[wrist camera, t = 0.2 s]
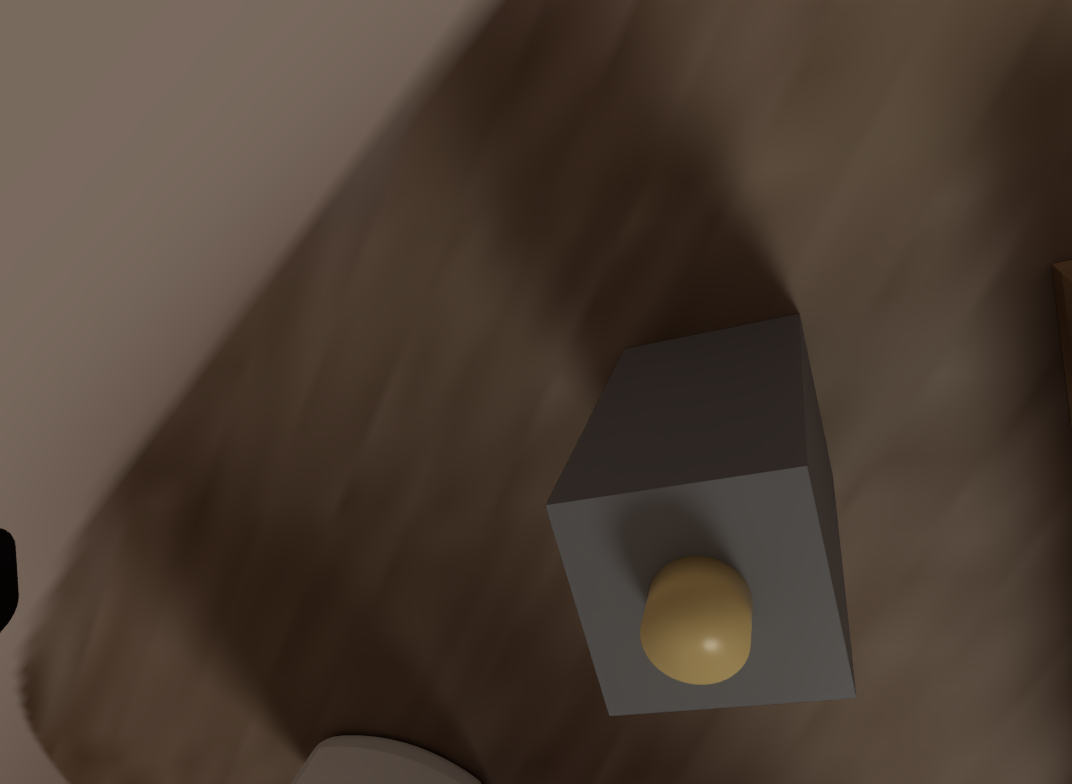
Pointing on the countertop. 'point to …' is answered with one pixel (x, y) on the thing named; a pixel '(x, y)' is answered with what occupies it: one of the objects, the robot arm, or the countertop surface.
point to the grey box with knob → (707, 528)
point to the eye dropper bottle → (377, 763)
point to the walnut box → (1065, 318)
